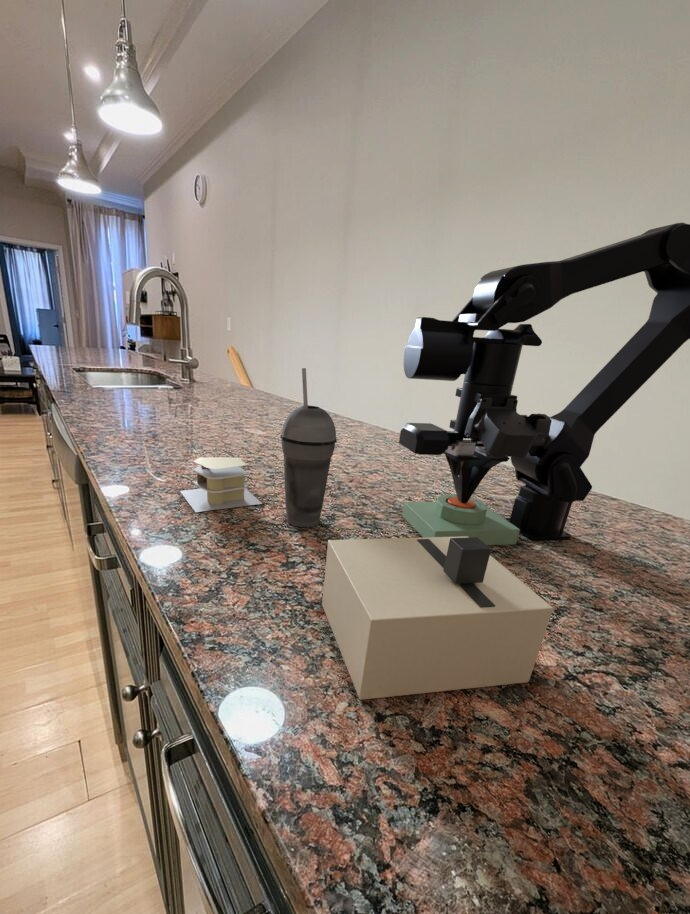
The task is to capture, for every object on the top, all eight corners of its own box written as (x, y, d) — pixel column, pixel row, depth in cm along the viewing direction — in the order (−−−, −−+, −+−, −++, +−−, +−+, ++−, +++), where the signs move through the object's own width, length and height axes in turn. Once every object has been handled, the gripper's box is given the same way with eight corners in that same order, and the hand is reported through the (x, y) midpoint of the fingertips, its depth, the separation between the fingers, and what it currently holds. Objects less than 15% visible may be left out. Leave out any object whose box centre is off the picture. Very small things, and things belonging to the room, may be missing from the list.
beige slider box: (451, 594, 46) (465, 532, 44) (529, 682, 35) (554, 606, 32) (320, 601, 43) (326, 536, 41) (359, 700, 32) (371, 618, 29)
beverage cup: (324, 535, 58) (339, 373, 50) (270, 527, 59) (276, 368, 51) (332, 514, 64) (346, 369, 56) (283, 507, 65) (291, 364, 58)
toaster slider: (469, 570, 36) (477, 536, 35) (483, 583, 34) (492, 548, 33) (442, 571, 36) (449, 537, 35) (454, 584, 34) (462, 549, 33)
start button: (464, 508, 63) (467, 496, 63) (478, 518, 60) (481, 506, 59) (441, 508, 62) (443, 497, 62) (453, 519, 59) (456, 506, 59)
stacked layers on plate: (241, 484, 73) (241, 452, 71) (262, 504, 66) (263, 468, 64) (179, 491, 69) (178, 456, 66) (195, 512, 61) (194, 474, 59)
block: (475, 514, 68) (481, 489, 66) (516, 544, 59) (523, 516, 57) (401, 515, 65) (405, 490, 64) (432, 547, 56) (438, 518, 55)
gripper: (450, 389, 45) (424, 528, 51) (604, 396, 49) (563, 525, 55) (406, 376, 55) (389, 494, 61) (537, 383, 59) (509, 493, 65)
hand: (462, 501), depth 61 cm, fingers closed, pressing on start button
